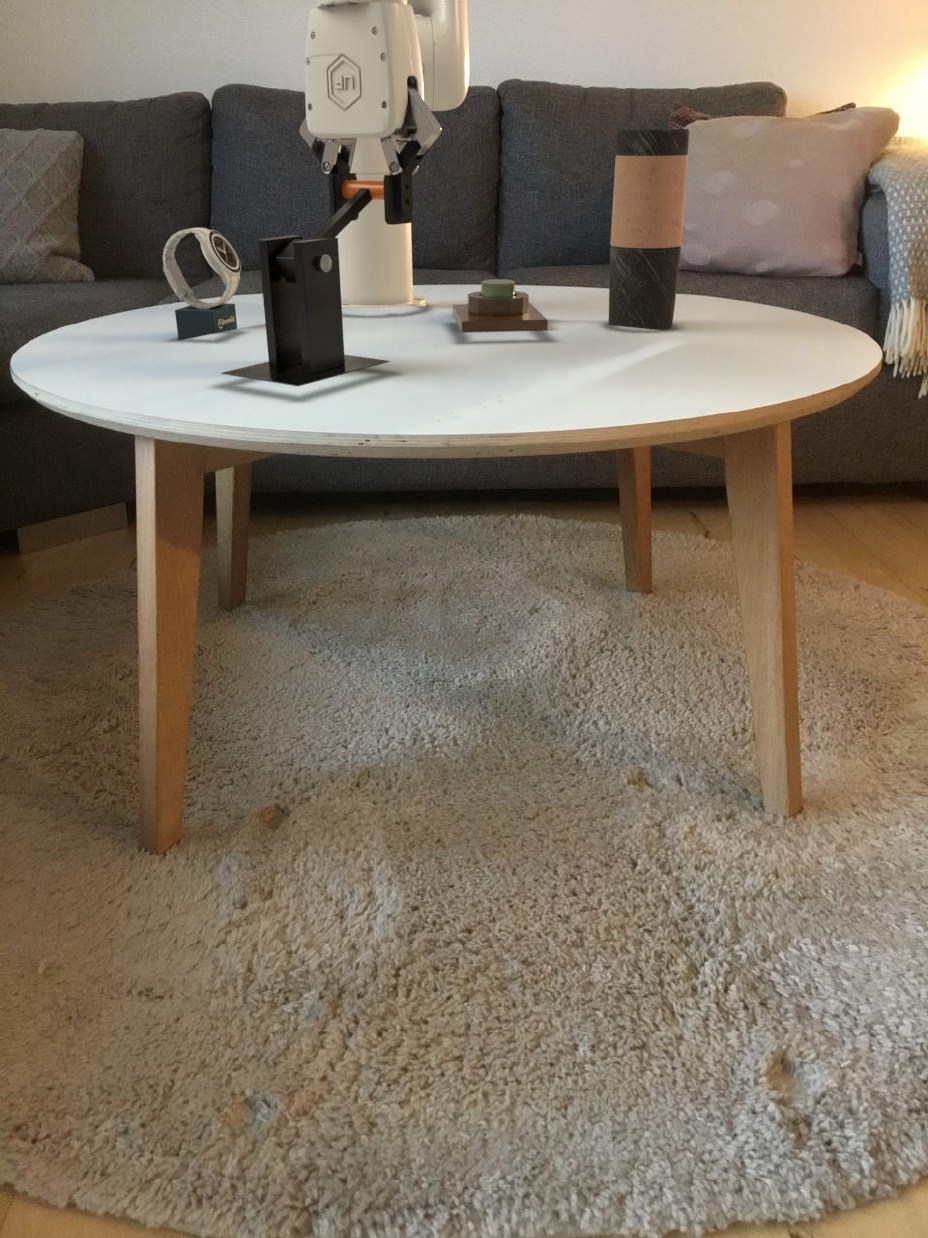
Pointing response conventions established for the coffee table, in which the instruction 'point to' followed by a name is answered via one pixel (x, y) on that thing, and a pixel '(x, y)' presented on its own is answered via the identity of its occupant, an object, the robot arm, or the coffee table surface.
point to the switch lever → (336, 219)
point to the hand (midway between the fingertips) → (371, 219)
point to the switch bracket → (303, 316)
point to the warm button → (498, 288)
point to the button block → (498, 314)
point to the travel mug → (647, 226)
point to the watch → (198, 314)
